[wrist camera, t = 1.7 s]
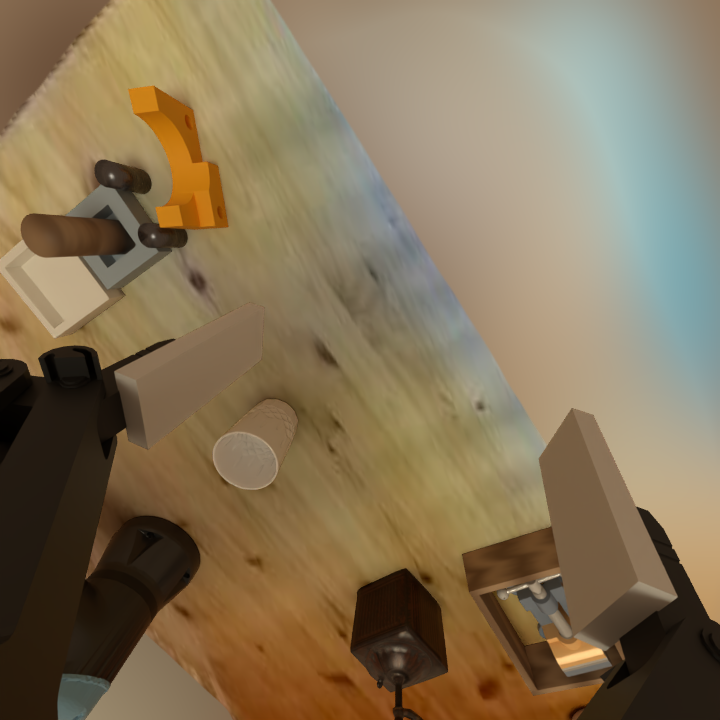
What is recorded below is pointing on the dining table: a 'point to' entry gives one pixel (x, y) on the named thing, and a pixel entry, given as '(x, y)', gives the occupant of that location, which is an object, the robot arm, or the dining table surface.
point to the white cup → (256, 445)
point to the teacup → (577, 714)
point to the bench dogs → (140, 183)
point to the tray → (57, 289)
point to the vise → (557, 624)
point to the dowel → (74, 236)
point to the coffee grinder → (399, 635)
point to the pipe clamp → (182, 163)
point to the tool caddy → (496, 572)
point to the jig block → (131, 215)
